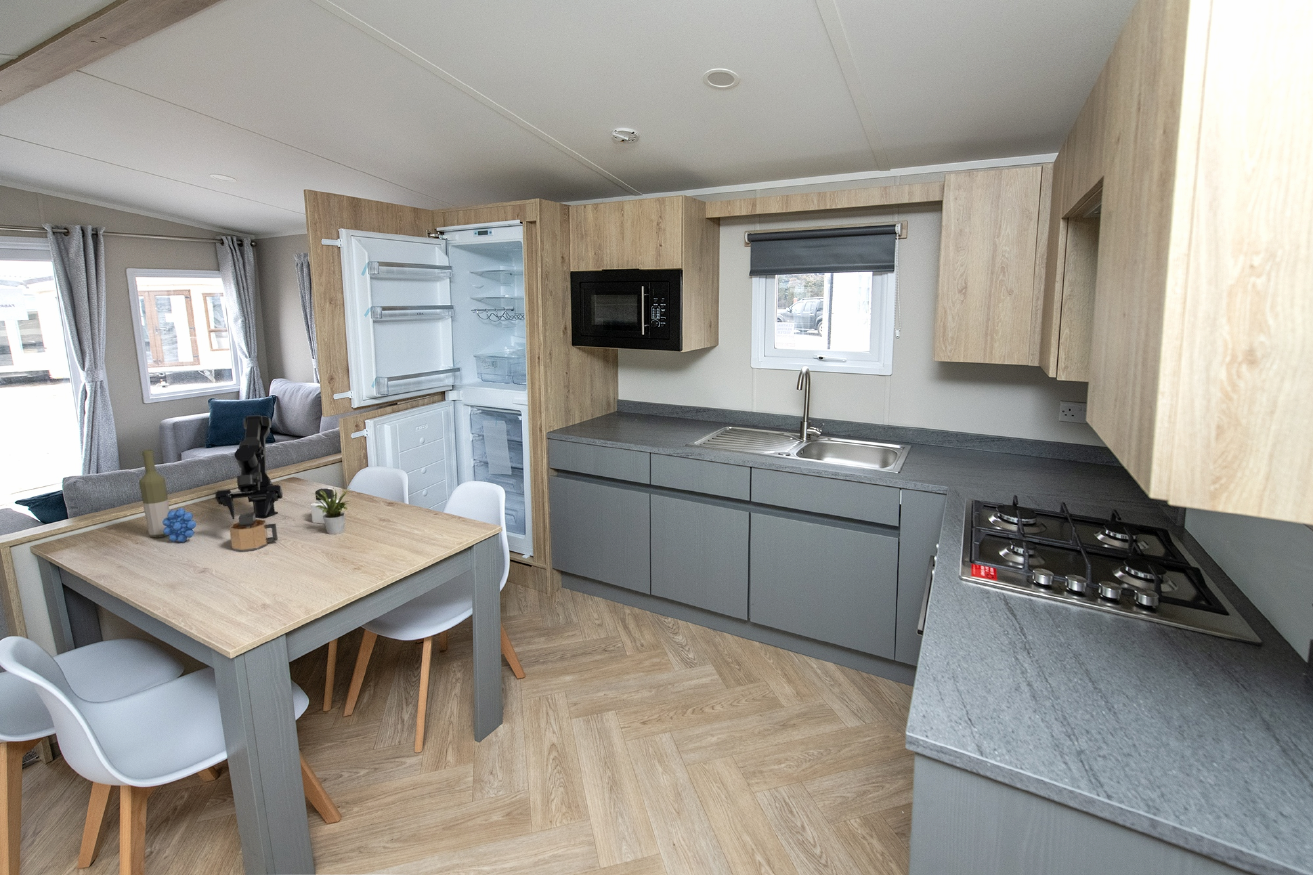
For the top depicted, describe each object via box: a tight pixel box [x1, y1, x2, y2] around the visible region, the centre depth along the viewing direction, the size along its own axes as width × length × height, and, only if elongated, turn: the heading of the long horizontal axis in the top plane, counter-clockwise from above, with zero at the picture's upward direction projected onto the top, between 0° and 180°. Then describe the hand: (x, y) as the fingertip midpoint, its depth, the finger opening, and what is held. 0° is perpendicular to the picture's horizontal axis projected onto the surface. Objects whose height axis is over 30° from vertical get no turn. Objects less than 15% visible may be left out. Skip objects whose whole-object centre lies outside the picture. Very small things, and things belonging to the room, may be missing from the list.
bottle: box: [138, 449, 170, 538], centre depth 219 cm, size 7×7×30 cm
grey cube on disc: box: [238, 512, 257, 528], centre depth 212 cm, size 7×7×8 cm
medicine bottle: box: [310, 487, 342, 525], centre depth 237 cm, size 7×7×12 cm
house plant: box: [311, 487, 351, 535], centre depth 224 cm, size 14×14×16 cm
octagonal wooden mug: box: [229, 518, 279, 553], centre depth 213 cm, size 10×13×8 cm
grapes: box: [162, 507, 197, 544], centre depth 216 cm, size 12×7×12 cm, turn 85°
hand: (249, 516), depth 215 cm, fingers open, 9 cm apart
